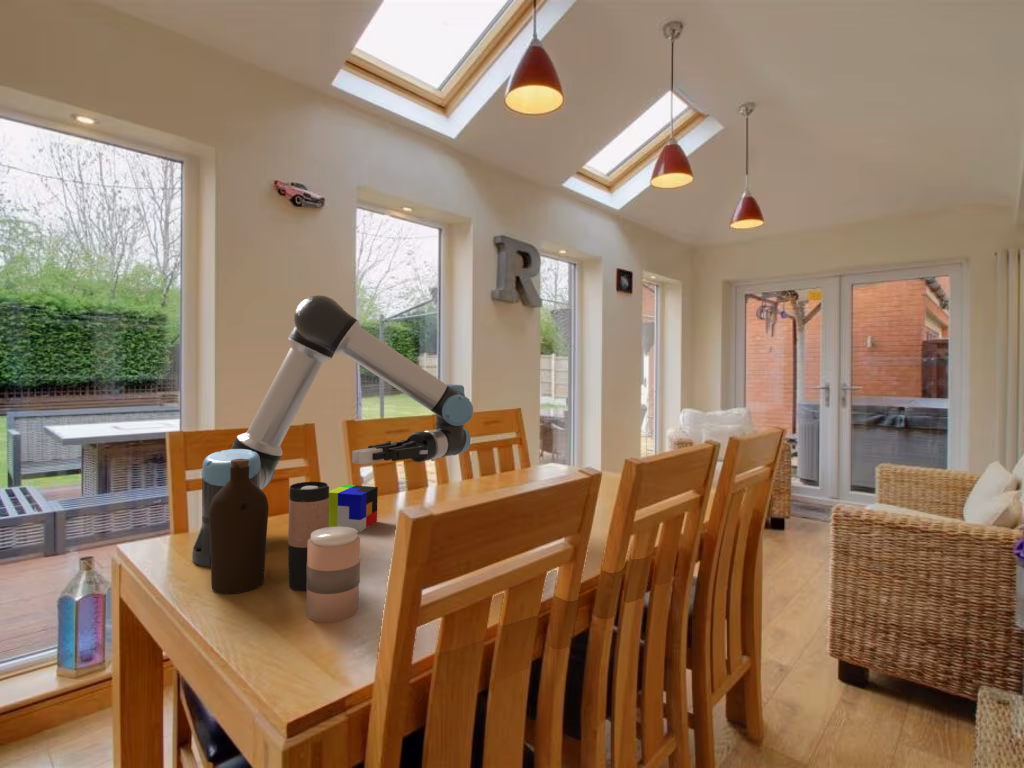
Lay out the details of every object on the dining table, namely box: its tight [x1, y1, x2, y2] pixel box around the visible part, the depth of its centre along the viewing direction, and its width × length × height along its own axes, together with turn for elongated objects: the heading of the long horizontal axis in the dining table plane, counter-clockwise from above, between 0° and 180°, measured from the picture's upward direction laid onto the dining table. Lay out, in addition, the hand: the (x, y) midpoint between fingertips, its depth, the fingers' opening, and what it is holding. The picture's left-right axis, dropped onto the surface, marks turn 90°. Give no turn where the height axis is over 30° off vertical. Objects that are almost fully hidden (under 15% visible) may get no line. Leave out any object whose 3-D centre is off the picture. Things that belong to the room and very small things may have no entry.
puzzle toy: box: [329, 484, 379, 533], centre depth 149 cm, size 10×10×10 cm
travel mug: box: [287, 481, 330, 592], centre depth 109 cm, size 8×8×20 cm
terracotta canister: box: [305, 526, 361, 623], centre depth 98 cm, size 9×9×14 cm
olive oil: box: [209, 459, 270, 595], centre depth 108 cm, size 11×11×25 cm
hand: (356, 457), depth 119 cm, fingers closed
